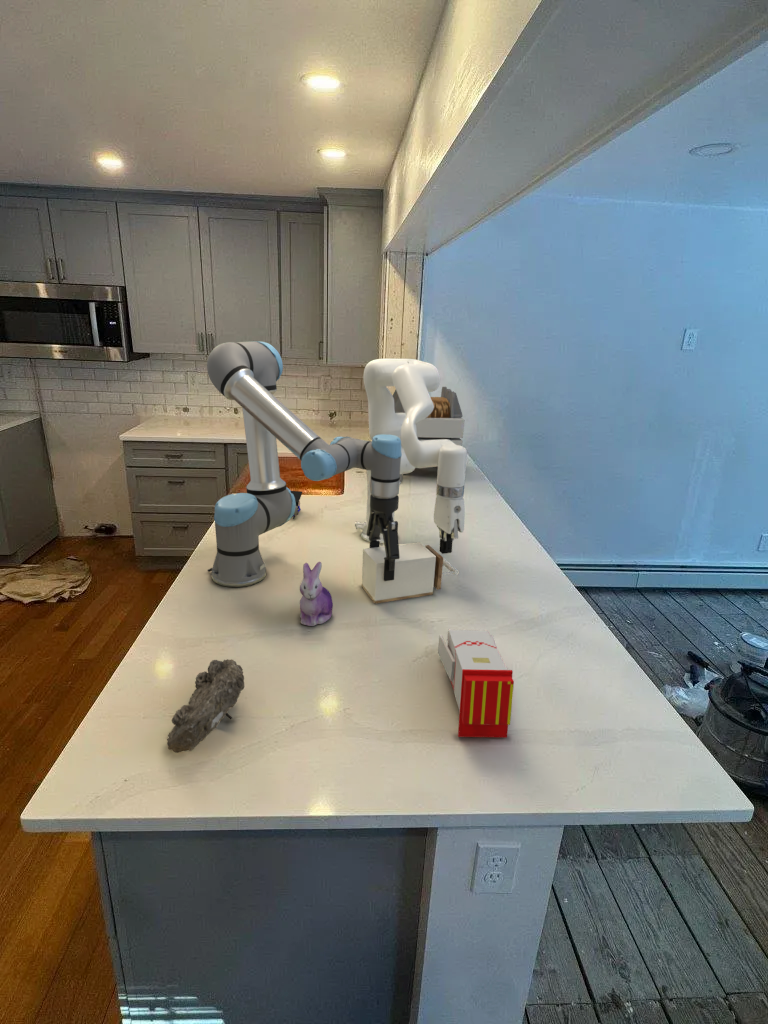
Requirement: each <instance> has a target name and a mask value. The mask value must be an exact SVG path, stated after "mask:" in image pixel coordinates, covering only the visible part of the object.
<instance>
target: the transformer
mask: <svg viewBox="0 0 768 1024" xmlns="http://www.w3.org/2000/svg"><path fill="white" fill-rule="evenodd" d="M440 393H441V394H440V396H430V397H431V400H432V402H433V405H434V409H433V411H432V413H431V414H430V415H429V416H428V417H426V418H425V419H423V420H421V421H419V422H418V423H416V429H417V438H418V440H419V441H423V440H438V439H448V440H450V441H452V442H453V443H455V444H456V445H459V446H462V447H463V442H464V441H463V440H462V439H463V438H464V431H465V430H464V429H465V419H464V418H463V411H462V408H461V405H460V402H459V398H458V395H457V392H455V391H453V390H452V389H451V388H447V386H442V387H441V392H440ZM392 396H393V398H394V410H395V413H405V411H404V409H403V406H402V404H401V401H400V398H399V396H398V393H397V391H396V389H395V390H394V392H393V394H392ZM436 468H437V469H438V467H436ZM403 475H404V474H400V482H401V483H402V482H403Z"/></svg>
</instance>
